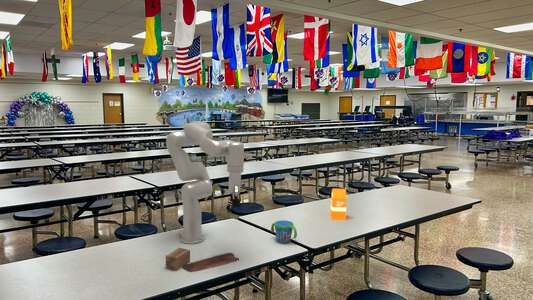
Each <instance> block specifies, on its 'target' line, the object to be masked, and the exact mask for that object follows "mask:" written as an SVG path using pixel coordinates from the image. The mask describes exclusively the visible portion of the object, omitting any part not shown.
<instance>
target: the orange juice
mask: <svg viewBox="0 0 533 300" xmlns="http://www.w3.org/2000/svg"><path fill="white" fill-rule="evenodd" d="M346 189H347V188H332V190H331V195H330V215H329V217H330V220H331V221H346V218H347V217H346V216H347V190H346Z"/></svg>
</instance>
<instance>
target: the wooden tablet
mask: <svg viewBox="0 0 533 300" xmlns="http://www.w3.org/2000/svg"><path fill="white" fill-rule="evenodd" d="M239 259H240V258H239V257H236V256H235V254H234V253H232V252H226V253H225V252H224V253H222V254H219V255H214V256H211V257H206V258H204V259H203V258H202V259H200V260H197V261H192V262H189V263H188V264H186V265H184V266H182V268H181V269H183V270H184V271H186V272H188V273H195V272H200V271H205V270H209V269H211V268H215V267H219V266H223V265H226V264H232V263H235V262H238V261H240V260H239ZM237 260H238V261H237ZM234 261H235V262H234ZM231 262H232V263H231Z"/></svg>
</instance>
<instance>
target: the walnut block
mask: <svg viewBox="0 0 533 300" xmlns="http://www.w3.org/2000/svg"><path fill="white" fill-rule="evenodd" d="M189 263H191V250H190V249H187V248H183V247H178V248H177V249H175V250H173V251H171V252H169V253H168V254H166V255H165V269H167V270H171V271H176V272H177V271H179V270H180V269H183V268H182V266H184V265H186V264H189Z"/></svg>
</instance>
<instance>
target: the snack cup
mask: <svg viewBox="0 0 533 300" xmlns="http://www.w3.org/2000/svg"><path fill="white" fill-rule="evenodd" d="M270 232H271V233H274V232H275V237H276V238H275V239H276V242H277V243H280V244H288V243H290V242H291V239H292V235H293V240H294V239H296V238H297V236H298V232H297V229H296V227H295V224H294V222H293V221H290V220H284V219H283V220H281V219H280V220H277V221H275V222H273V223H272V224H271V227H270Z"/></svg>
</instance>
